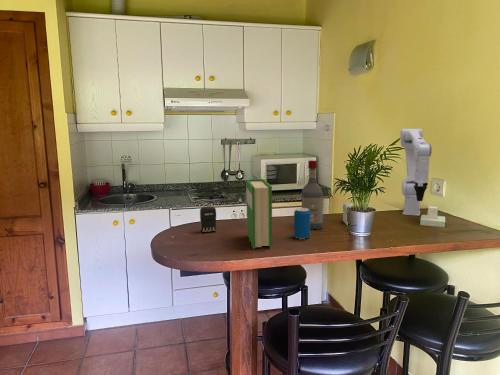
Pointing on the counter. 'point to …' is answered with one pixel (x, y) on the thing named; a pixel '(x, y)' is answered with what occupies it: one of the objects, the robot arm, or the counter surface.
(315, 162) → the liquor
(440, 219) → the sage block
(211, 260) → the counter surface
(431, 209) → the cream block
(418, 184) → the robot arm
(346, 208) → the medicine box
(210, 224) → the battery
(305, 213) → the beverage can
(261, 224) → the hardback book
